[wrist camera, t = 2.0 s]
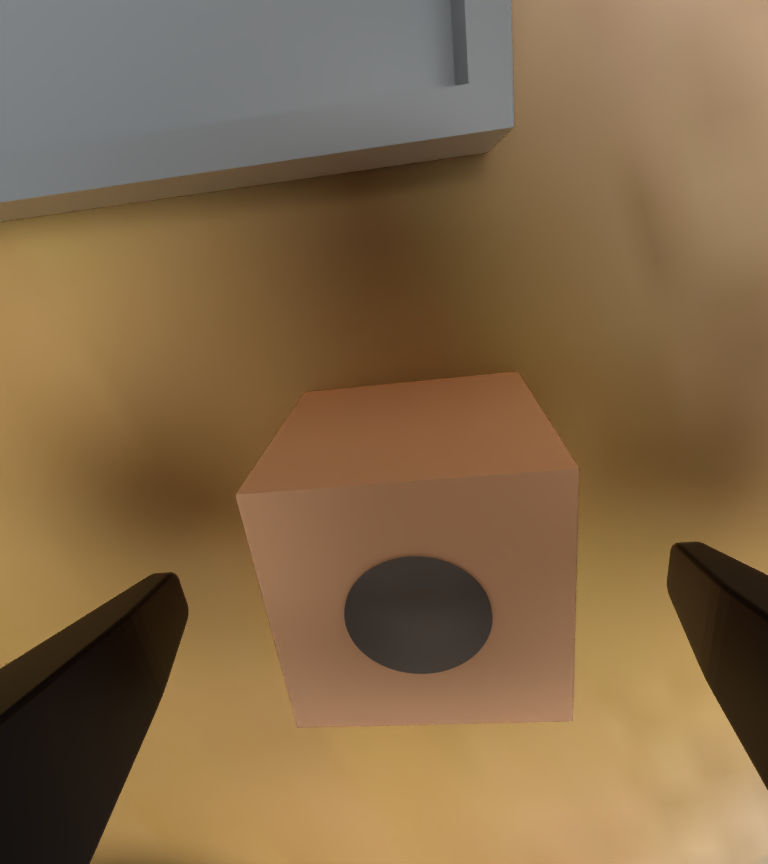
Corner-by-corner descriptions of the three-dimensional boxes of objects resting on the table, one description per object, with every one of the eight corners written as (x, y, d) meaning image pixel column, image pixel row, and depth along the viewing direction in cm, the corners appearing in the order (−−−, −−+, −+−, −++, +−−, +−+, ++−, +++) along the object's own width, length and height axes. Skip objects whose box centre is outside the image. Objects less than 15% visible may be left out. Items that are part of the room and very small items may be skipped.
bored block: (338, 561, 14) (296, 730, 9) (305, 390, 12) (234, 496, 8) (521, 550, 14) (573, 724, 9) (517, 370, 12) (580, 470, 7)
